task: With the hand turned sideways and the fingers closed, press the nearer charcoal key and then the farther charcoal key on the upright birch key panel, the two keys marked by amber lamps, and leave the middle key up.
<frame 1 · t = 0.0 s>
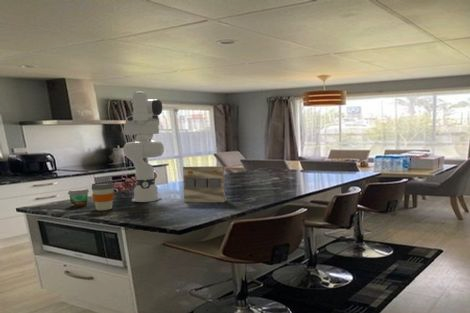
hand: (142, 142, 212), 39 cm above the table, tool pointing down, fingers open, 8 cm apart
reusable coffee cup: (104, 209, 214), on the table
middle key: (203, 182, 223), point 12 cm above the table, slide at 0.0 cm
key 2: (215, 182, 221), point 12 cm above the table, slide at 0.0 cm
key 1: (190, 182, 226), point 12 cm above the table, slide at 0.0 cm
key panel: (204, 201, 226), on the table
food container: (80, 206, 225), on the table
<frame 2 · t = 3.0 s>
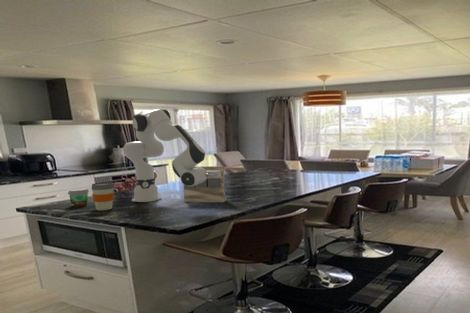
hand: (207, 172, 207), 20 cm above the table, tool horizontal, fingers open, 7 cm apart
nothing on the table moved.
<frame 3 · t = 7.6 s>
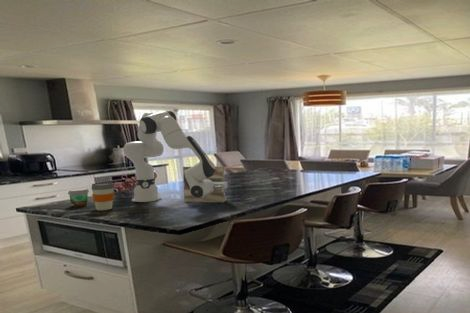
hand: (214, 183, 219), 12 cm above the table, tool horizontal, fingers closed, pressing on key 2
key 2: (215, 182, 222), point 12 cm above the table, slide at 0.1 cm, touching gripper
everything else where it was.
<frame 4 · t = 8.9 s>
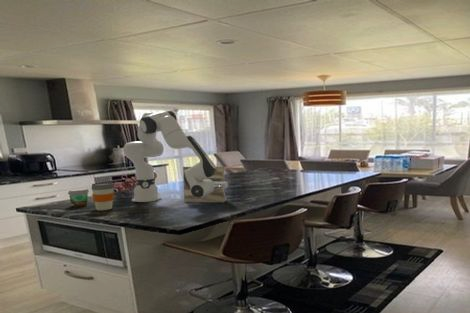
hand: (214, 183, 219), 12 cm above the table, tool horizontal, fingers closed
key 2: (215, 182, 223), point 12 cm above the table, slide at 1.2 cm
everything else where it was.
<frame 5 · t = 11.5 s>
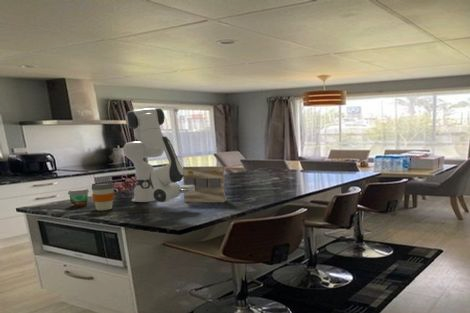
hand: (182, 186, 212), 12 cm above the table, tool horizontal, fingers closed
nothing on the table moved.
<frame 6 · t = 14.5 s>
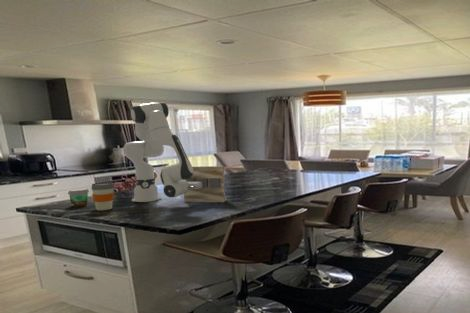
hand: (189, 183, 224), 12 cm above the table, tool horizontal, fingers closed, pressing on key 1
key 1: (191, 182, 226), point 12 cm above the table, slide at 0.8 cm, touching gripper
everything else where it was.
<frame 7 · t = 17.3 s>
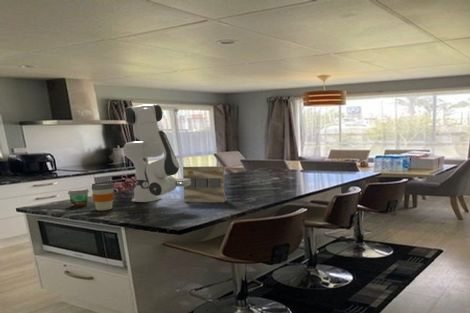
hand: (178, 180, 211), 16 cm above the table, tool horizontal, fingers closed
key 1: (191, 182, 227), point 12 cm above the table, slide at 1.2 cm
everything else where it was.
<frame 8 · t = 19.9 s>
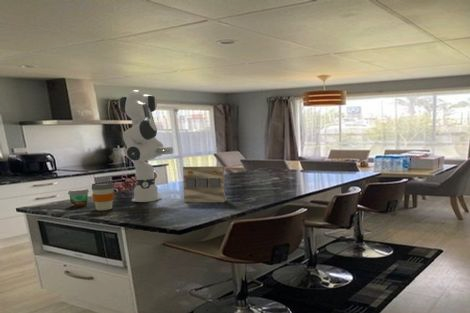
hand: (160, 150, 204), 34 cm above the table, tool horizontal, fingers closed
nothing on the table moved.
at the end: key 2 slide at 1.2 cm; key 1 slide at 1.2 cm; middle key slide at 0.0 cm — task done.
